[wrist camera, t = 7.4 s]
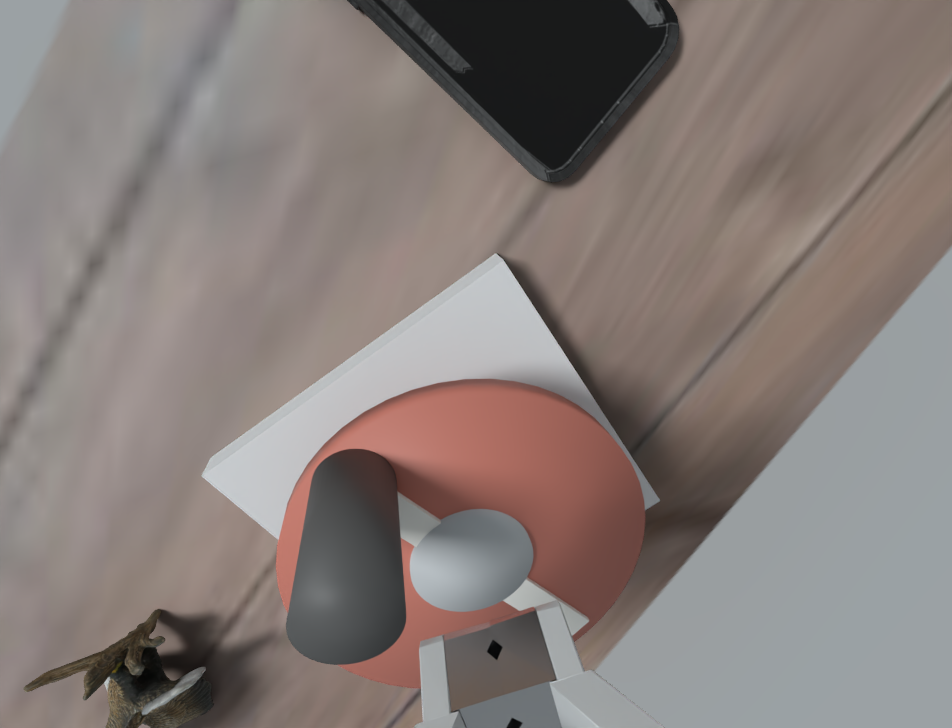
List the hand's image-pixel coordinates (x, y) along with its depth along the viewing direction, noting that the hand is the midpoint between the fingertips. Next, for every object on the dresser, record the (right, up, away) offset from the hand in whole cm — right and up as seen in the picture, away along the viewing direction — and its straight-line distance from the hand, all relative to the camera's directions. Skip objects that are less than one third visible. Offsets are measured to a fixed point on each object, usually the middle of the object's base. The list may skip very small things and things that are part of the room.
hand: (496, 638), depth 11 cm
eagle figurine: (-18, -10, +18) cm, 27 cm away
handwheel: (-1, -2, +12) cm, 12 cm away
